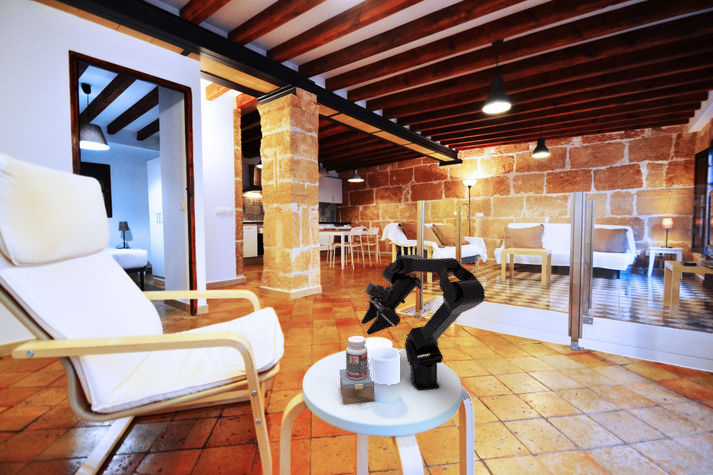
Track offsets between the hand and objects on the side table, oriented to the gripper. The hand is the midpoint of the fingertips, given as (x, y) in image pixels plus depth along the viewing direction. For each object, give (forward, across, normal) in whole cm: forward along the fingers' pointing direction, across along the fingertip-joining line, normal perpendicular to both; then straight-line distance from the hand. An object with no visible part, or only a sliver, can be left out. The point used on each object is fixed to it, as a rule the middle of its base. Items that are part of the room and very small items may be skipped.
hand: (364, 328), depth 93 cm
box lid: (+10, +12, +4) cm, 16 cm away
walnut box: (+13, +12, +6) cm, 19 cm away
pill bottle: (+9, +12, +3) cm, 15 cm away
